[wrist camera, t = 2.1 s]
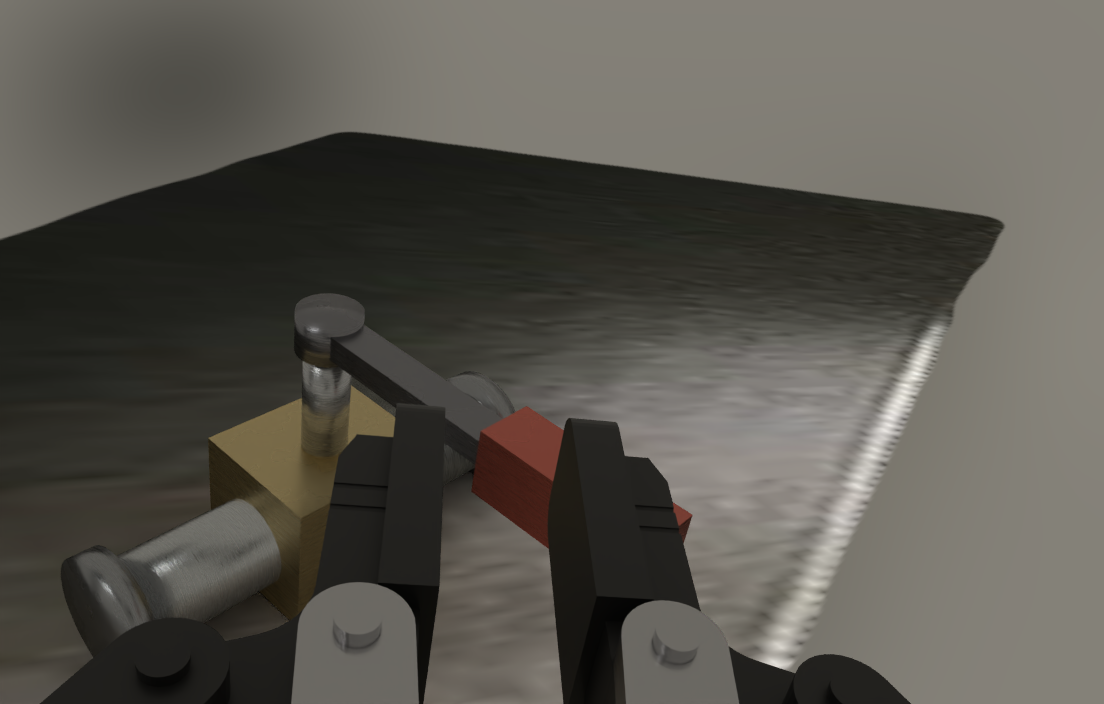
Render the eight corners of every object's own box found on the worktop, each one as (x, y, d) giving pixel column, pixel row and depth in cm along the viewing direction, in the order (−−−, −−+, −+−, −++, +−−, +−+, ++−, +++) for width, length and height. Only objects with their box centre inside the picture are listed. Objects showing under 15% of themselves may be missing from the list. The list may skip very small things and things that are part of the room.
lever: (280, 353, 44) (280, 296, 42) (333, 333, 46) (336, 277, 44) (628, 613, 34) (646, 551, 33) (676, 572, 36) (695, 512, 35)
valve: (147, 721, 41) (125, 503, 34) (63, 623, 44) (29, 407, 38) (518, 490, 57) (552, 311, 50) (436, 430, 60) (457, 256, 54)
